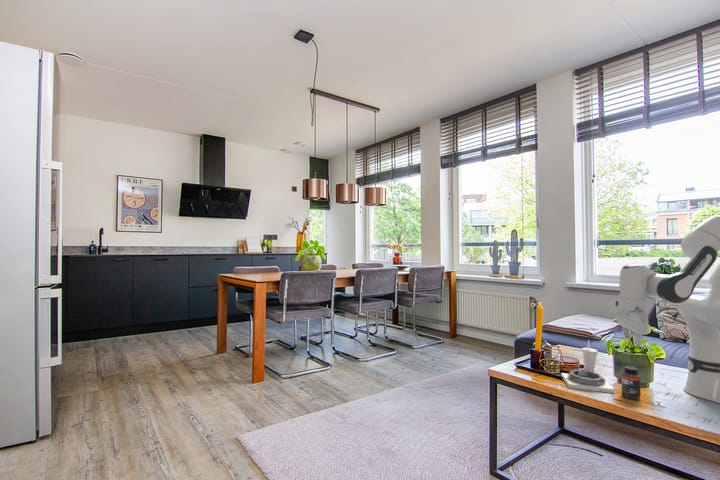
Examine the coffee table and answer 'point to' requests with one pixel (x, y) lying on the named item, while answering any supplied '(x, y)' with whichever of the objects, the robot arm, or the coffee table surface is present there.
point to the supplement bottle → (631, 383)
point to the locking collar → (579, 374)
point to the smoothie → (589, 358)
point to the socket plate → (572, 384)
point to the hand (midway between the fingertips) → (631, 341)
